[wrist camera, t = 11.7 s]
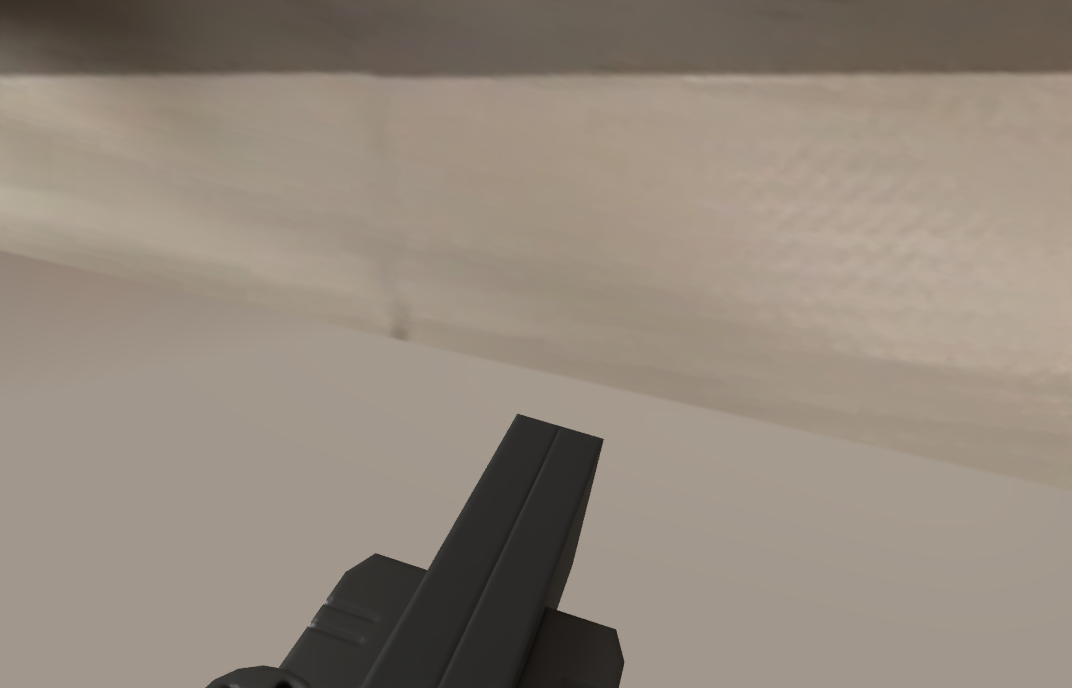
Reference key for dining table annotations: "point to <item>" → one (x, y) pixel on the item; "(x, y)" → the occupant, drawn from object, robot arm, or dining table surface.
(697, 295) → the dining table surface
